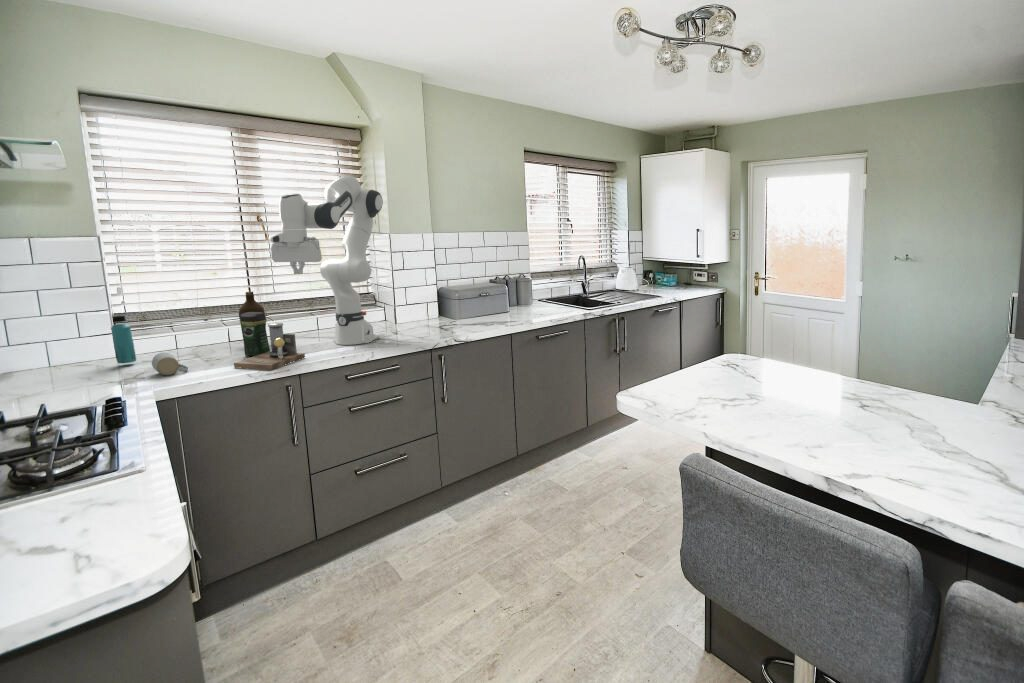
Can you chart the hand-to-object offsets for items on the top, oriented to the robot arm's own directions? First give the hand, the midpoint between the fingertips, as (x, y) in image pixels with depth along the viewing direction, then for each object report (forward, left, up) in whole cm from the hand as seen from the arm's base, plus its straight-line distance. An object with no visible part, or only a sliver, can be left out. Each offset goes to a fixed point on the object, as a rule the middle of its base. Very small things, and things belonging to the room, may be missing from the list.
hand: (298, 274), depth 205 cm
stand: (+4, -14, -35) cm, 38 cm away
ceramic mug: (+26, -40, -35) cm, 60 cm away
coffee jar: (-6, -29, -35) cm, 46 cm away
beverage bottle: (+20, -69, -35) cm, 80 cm away
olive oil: (-21, -43, -35) cm, 60 cm away
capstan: (+4, -9, -33) cm, 34 cm away
